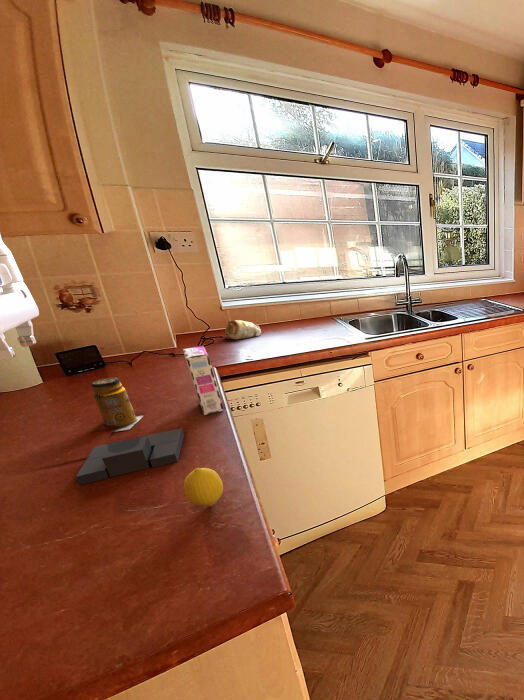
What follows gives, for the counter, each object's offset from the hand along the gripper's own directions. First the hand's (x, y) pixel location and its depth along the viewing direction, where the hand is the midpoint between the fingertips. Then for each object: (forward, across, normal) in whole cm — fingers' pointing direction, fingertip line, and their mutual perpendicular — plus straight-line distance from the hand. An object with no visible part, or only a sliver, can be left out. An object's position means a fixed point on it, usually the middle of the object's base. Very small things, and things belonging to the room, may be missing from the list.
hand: (19, 351), depth 77 cm
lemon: (+27, +26, +24) cm, 45 cm away
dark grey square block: (+27, +1, +9) cm, 28 cm away
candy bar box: (+27, -26, +22) cm, 44 cm away
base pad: (+27, -3, +9) cm, 29 cm away
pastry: (+27, -109, +30) cm, 116 cm away
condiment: (+27, -26, +2) cm, 38 cm away
